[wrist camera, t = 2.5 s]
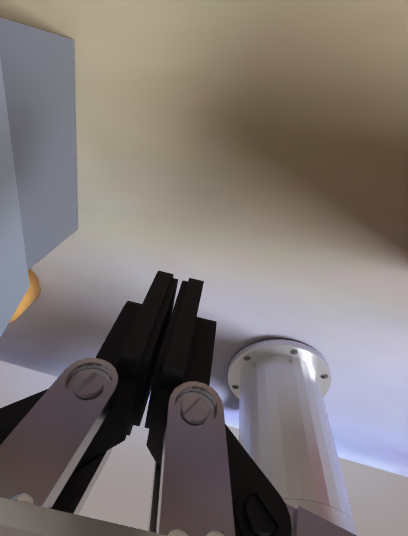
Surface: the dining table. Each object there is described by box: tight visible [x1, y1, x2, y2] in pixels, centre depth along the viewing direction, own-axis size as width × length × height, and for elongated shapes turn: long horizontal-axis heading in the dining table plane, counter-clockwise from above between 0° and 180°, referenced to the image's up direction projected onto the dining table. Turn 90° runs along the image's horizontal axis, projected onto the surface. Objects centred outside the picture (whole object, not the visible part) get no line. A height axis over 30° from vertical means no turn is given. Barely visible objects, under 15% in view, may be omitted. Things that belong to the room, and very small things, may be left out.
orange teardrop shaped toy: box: [9, 269, 41, 323], centre depth 34 cm, size 6×6×4 cm
